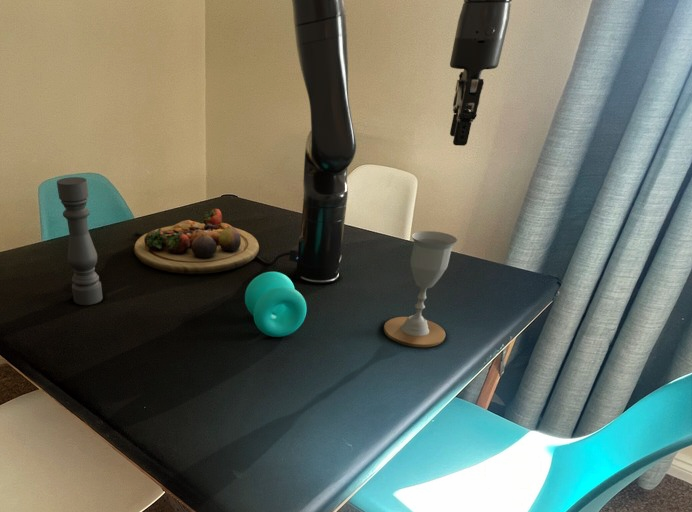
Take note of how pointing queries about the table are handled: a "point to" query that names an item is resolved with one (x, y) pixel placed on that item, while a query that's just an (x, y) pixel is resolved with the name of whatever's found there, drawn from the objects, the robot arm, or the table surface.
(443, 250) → the chalice
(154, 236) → the wooden plate
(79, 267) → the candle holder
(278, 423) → the table surface
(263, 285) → the turquoise spool
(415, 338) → the coaster
